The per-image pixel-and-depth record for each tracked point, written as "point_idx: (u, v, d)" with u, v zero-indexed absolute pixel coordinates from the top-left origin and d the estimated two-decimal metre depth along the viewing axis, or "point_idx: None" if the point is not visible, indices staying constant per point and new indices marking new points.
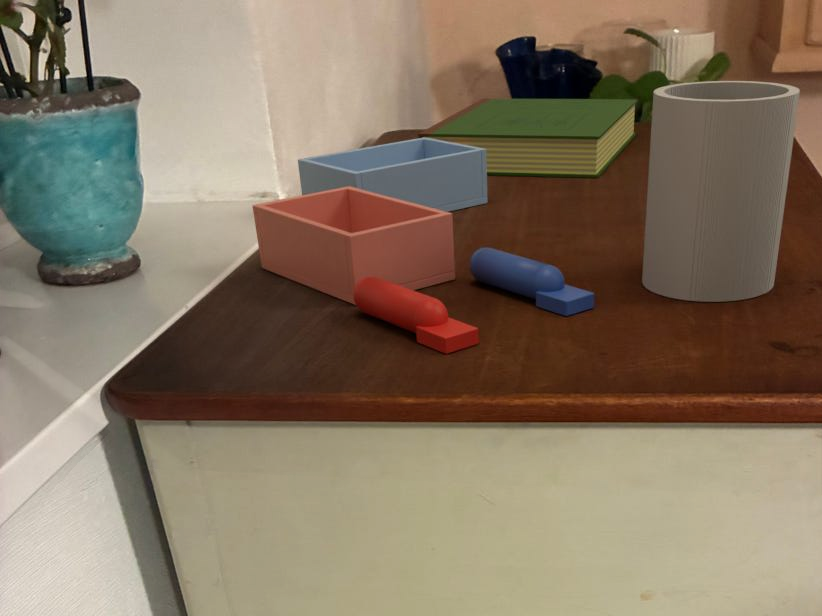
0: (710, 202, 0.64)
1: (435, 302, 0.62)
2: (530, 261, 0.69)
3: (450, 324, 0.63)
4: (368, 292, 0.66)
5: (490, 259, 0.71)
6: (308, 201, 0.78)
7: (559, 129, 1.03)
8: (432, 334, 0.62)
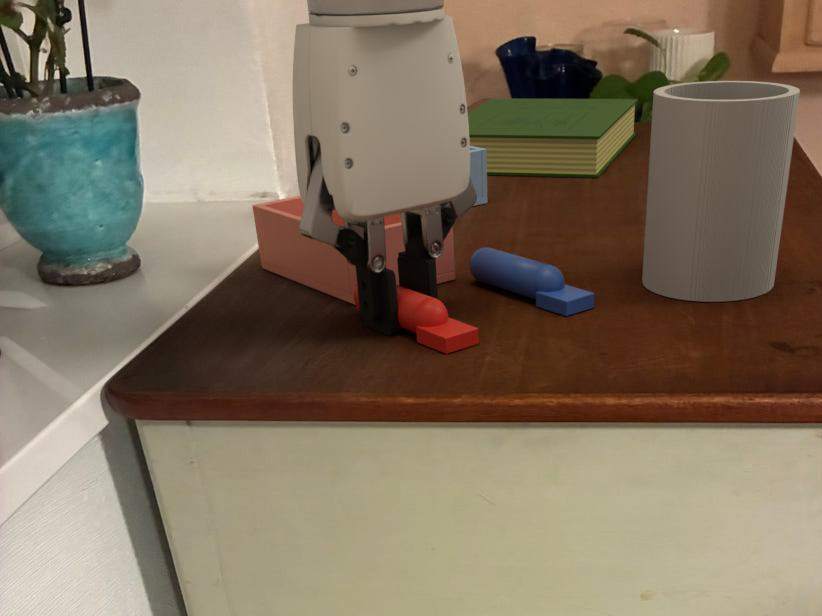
0: (710, 202, 0.64)
1: (435, 302, 0.62)
2: (530, 261, 0.69)
3: (450, 324, 0.63)
4: None
5: (490, 259, 0.71)
6: None
7: (559, 129, 1.03)
8: (432, 334, 0.62)
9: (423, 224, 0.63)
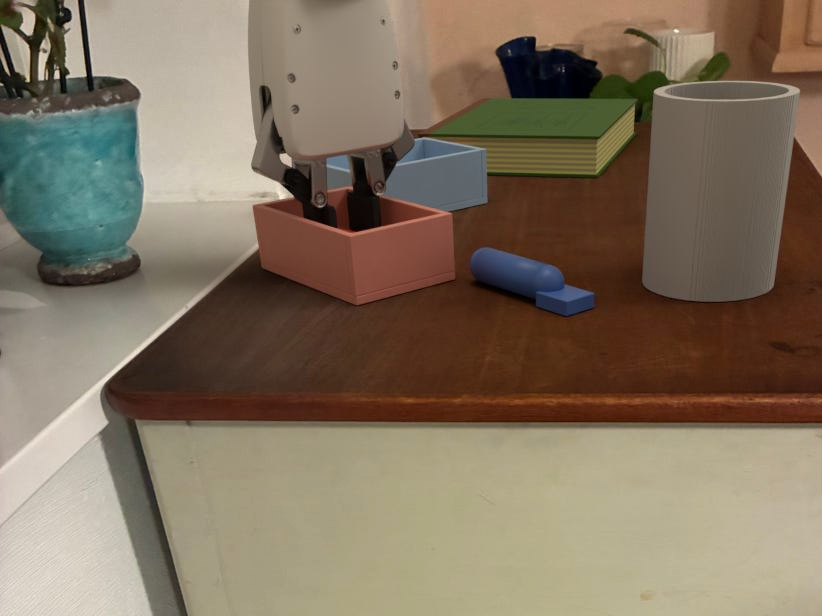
0: (710, 202, 0.64)
1: None
2: (530, 261, 0.69)
3: None
4: None
5: (490, 259, 0.71)
6: None
7: (559, 129, 1.03)
8: None
9: (367, 165, 0.73)
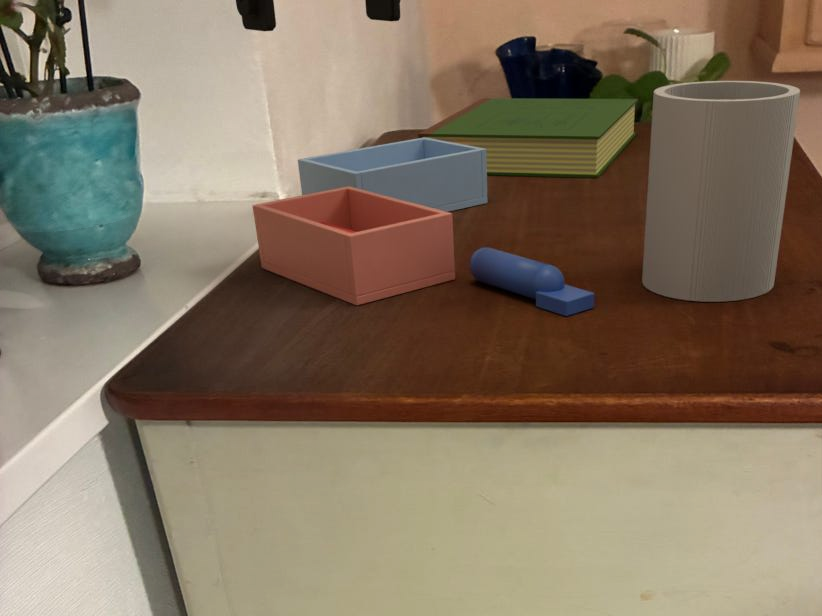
0: (710, 202, 0.64)
1: None
2: (530, 261, 0.69)
3: None
4: None
5: (490, 259, 0.71)
6: (308, 201, 0.78)
7: (559, 129, 1.03)
8: None
9: None
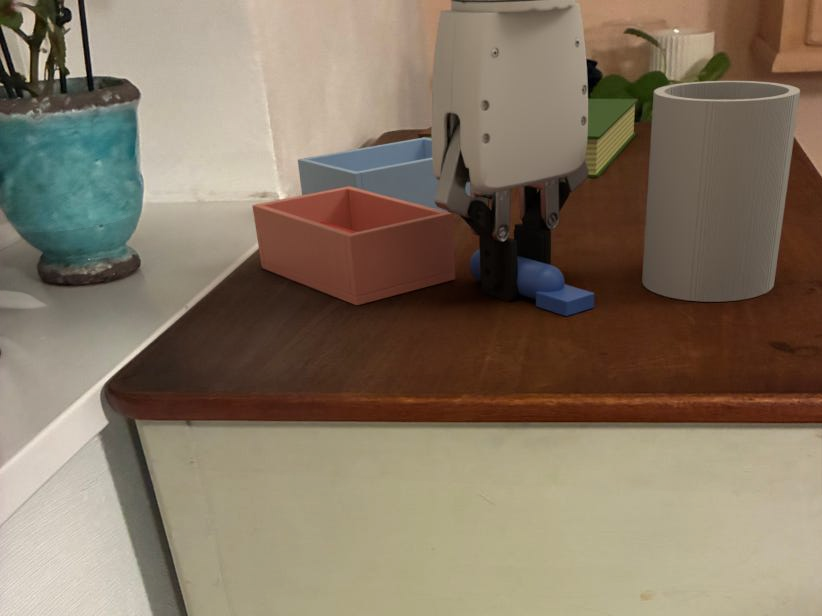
0: (710, 202, 0.64)
1: None
2: (530, 261, 0.69)
3: None
4: None
5: None
6: (308, 201, 0.78)
7: None
8: None
9: (542, 197, 0.68)
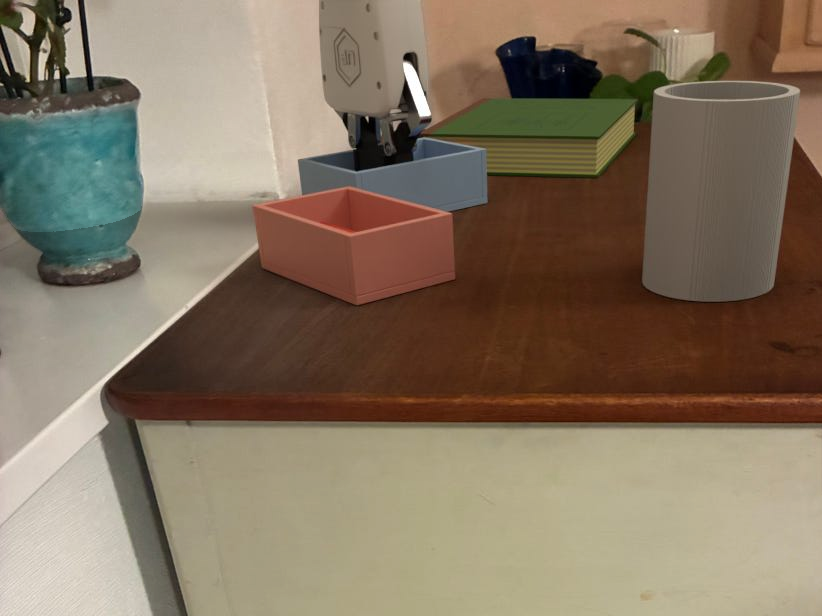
0: (710, 202, 0.64)
1: None
2: None
3: None
4: None
5: None
6: (308, 201, 0.78)
7: (559, 129, 1.03)
8: None
9: (376, 119, 0.90)
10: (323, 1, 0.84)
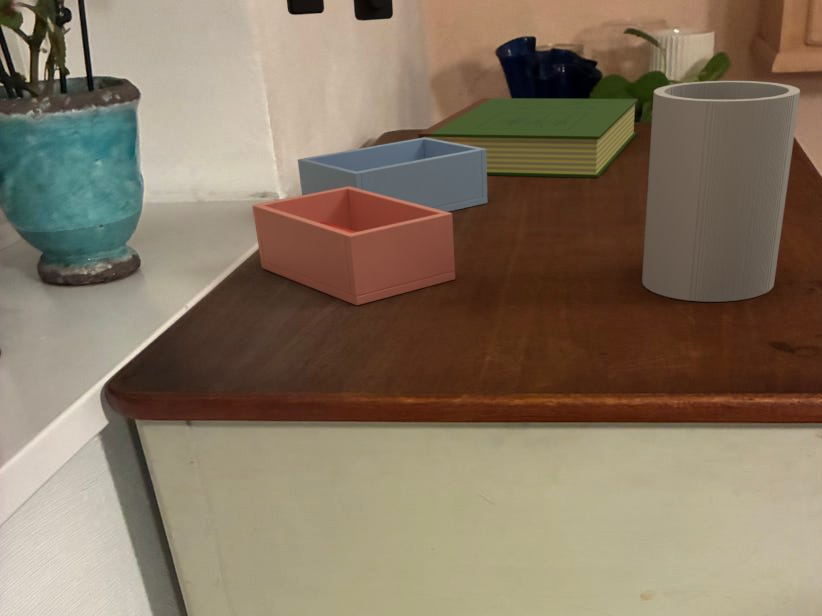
0: (710, 202, 0.64)
1: None
2: None
3: None
4: None
5: None
6: (308, 201, 0.78)
7: (559, 129, 1.03)
8: None
9: None
10: None
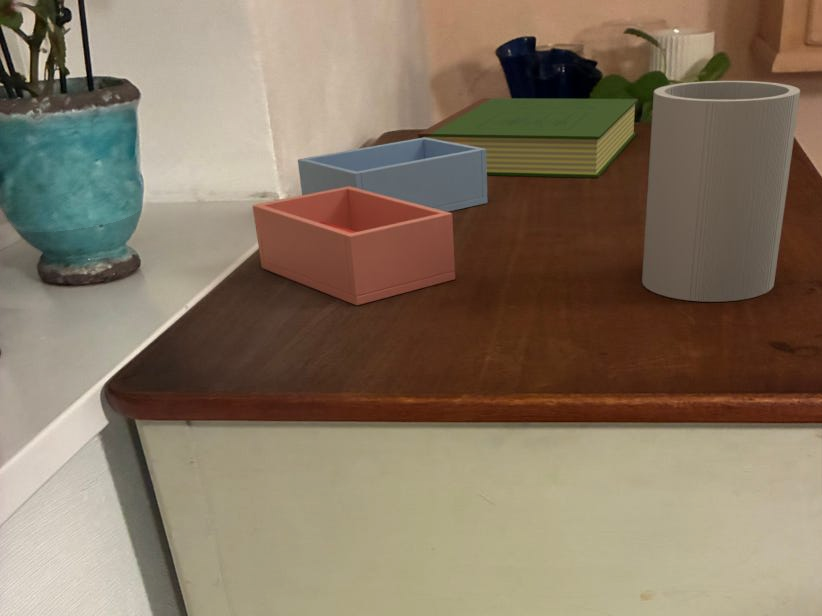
0: (710, 202, 0.64)
1: None
2: None
3: None
4: None
5: None
6: (308, 201, 0.78)
7: (559, 129, 1.03)
8: None
9: None
10: None
